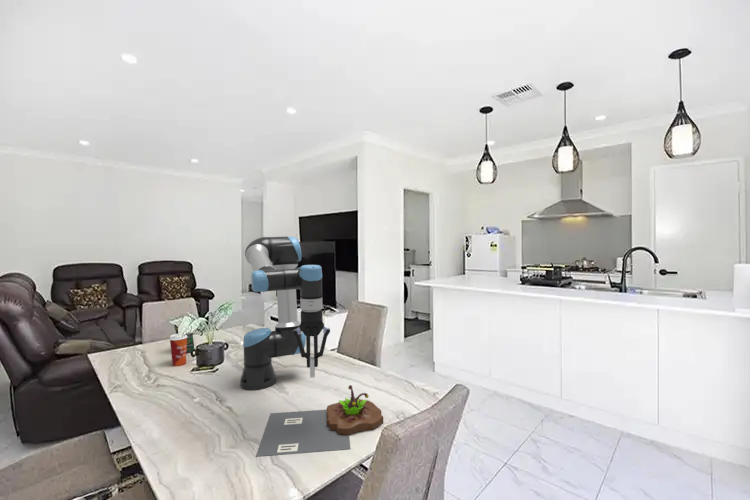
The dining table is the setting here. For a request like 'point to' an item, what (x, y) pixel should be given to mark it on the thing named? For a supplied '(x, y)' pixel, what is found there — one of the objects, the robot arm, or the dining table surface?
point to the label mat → (300, 434)
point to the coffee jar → (188, 341)
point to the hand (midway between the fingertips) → (312, 375)
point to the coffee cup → (178, 349)
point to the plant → (353, 415)
